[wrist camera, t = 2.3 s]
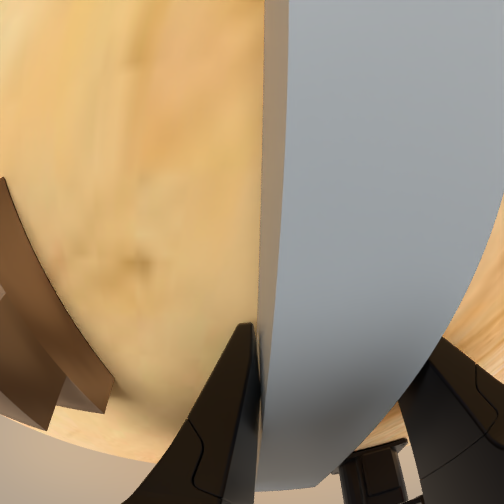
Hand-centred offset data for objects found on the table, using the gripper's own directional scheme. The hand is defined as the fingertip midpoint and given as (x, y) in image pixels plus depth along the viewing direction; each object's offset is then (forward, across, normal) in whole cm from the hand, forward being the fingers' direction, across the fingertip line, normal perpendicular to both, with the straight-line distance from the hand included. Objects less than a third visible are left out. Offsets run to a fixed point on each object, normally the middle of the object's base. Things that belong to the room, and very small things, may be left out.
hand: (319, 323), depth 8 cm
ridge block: (+1, +13, -1) cm, 13 cm away
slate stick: (+1, 0, 0) cm, 1 cm away
